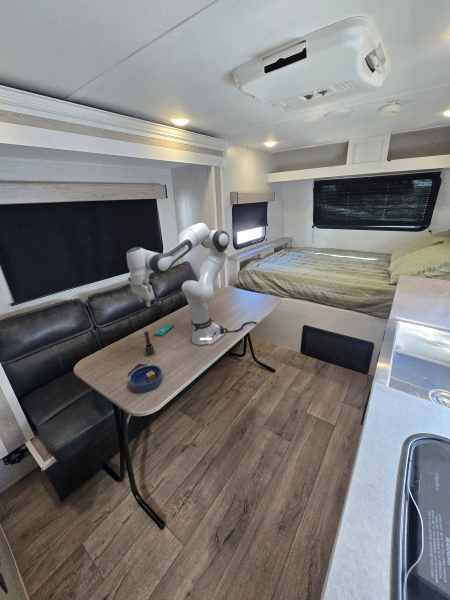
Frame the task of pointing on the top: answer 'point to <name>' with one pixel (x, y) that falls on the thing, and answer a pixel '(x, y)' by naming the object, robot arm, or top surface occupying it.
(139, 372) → the bowl
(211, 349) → the top surface
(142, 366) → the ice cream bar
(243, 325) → the robot arm
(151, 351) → the holder
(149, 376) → the block
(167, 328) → the smartphone
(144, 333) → the chopstick
